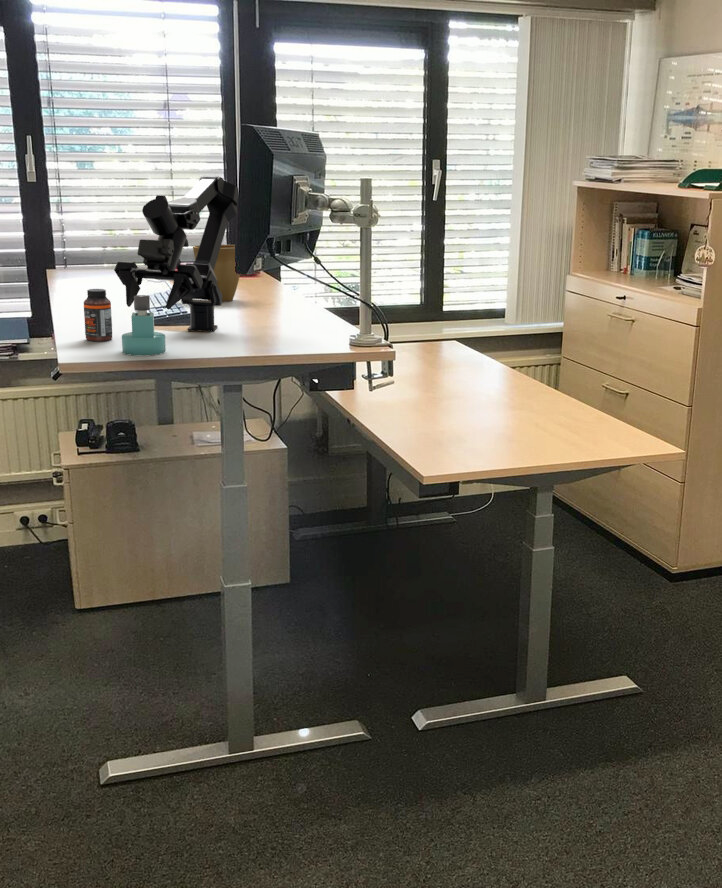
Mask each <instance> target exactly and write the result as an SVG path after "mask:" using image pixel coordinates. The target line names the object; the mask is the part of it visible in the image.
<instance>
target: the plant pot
mask: <svg viewBox="0 0 722 888" xmlns="http://www.w3.org/2000/svg"><path fill="white" fill-rule="evenodd" d="M235 245H236V244H221V247H220V251H219V254H218V257H217V261H216V264H215V268H214V273H215V276H216V279H217V286H218V288H219V290H220V292H221V294H222V303H224V302H225V303H226V302H232V301H233V300H234V297H235V295H236V291H237V289H238V288H237V287H238V284H239V281H240V277H241V274H240V275H238V274H236V272H235ZM199 246H200V244H199V245H193V246H192V250H193V251H192V252H193V256H194V260H195V259H196V256H197V253H198V249H199ZM210 300H211V299H210Z"/></svg>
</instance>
